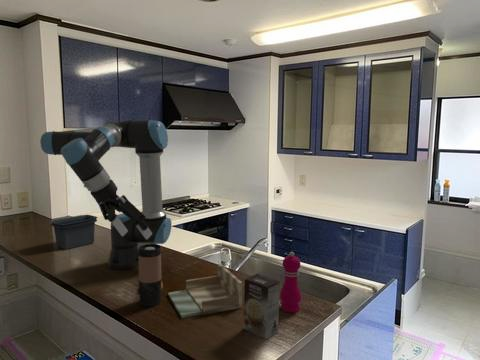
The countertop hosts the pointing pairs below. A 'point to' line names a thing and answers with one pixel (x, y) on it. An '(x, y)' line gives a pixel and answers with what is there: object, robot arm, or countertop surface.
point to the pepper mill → (290, 284)
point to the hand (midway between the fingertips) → (136, 235)
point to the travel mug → (150, 275)
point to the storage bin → (74, 231)
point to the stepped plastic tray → (209, 294)
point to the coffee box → (261, 305)
